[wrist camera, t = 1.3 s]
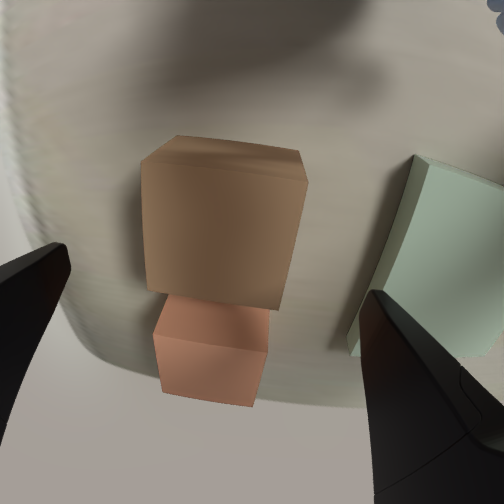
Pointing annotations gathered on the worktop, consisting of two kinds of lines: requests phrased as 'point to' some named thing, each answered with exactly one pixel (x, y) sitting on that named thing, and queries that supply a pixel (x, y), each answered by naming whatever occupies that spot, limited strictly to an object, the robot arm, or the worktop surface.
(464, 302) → the base plate
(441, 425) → the robot arm
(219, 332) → the terracotta brick
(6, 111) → the worktop surface
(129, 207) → the worktop surface
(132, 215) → the worktop surface
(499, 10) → the toy figure
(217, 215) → the walnut brick
